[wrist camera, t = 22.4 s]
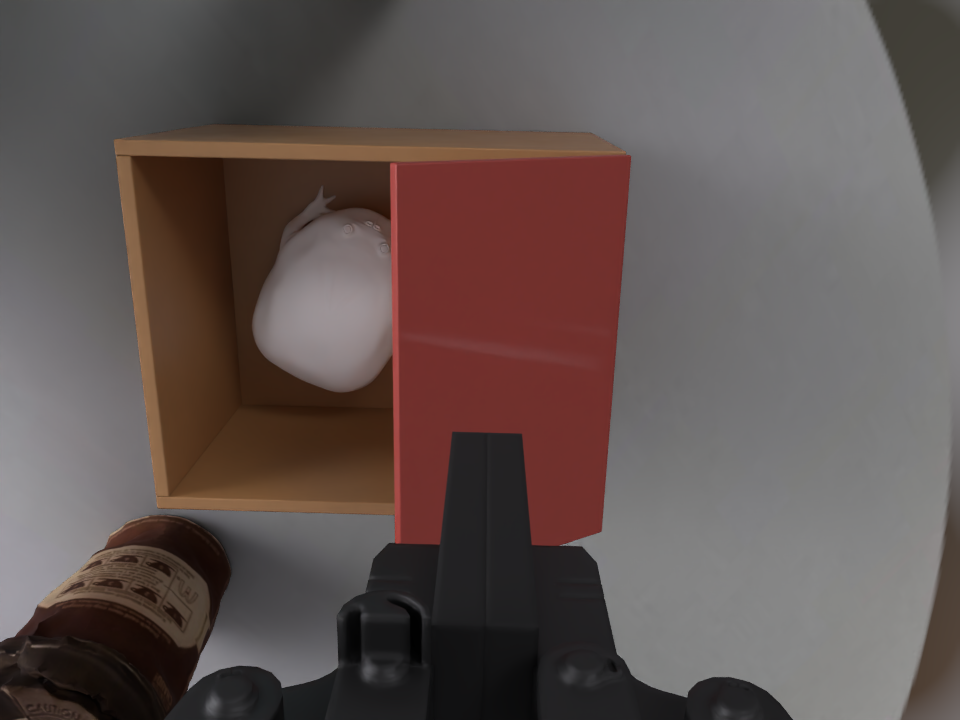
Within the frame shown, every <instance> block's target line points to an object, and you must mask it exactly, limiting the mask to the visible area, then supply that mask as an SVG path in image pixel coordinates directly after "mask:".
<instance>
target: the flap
mask: <svg viewBox="0 0 960 720" xmlns="http://www.w3.org/2000/svg"><path fill="white" fill-rule="evenodd" d="M630 167H631V156H630V155H594V156H564V157H535V158H505V159H476V160H447V161H417V162H392V163H390V194H391V268H392V343H393V418H394V492H395V543H402V544H438V545H440V539H441V530H442V521H443V511H444V502H445V493H446V484H447V475H448V466H449V457H450V448H451V439H452V432H483V433H520V434H522V438H523V450H524V461H525V473H526V484H527V496H528V507H529V519H530V530H531V541H532V545H545V546H559V545H562V544H566V543H569V542H572V541H575V540H578V539H581V538H584V537H587V536H590V535H593V534H596V533H599V532H601V531H602V519H603V507H604V494H605V482H606V469H607V456H608V444H609V431H610V419H611V406H612V393H613V381H614V368H615V356H616V343H617V330H618V318H619V305H620V293H621V280H622V267H623V255H624V242H625V230H626V217H627V204H628V192H629V179H630Z"/></svg>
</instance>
